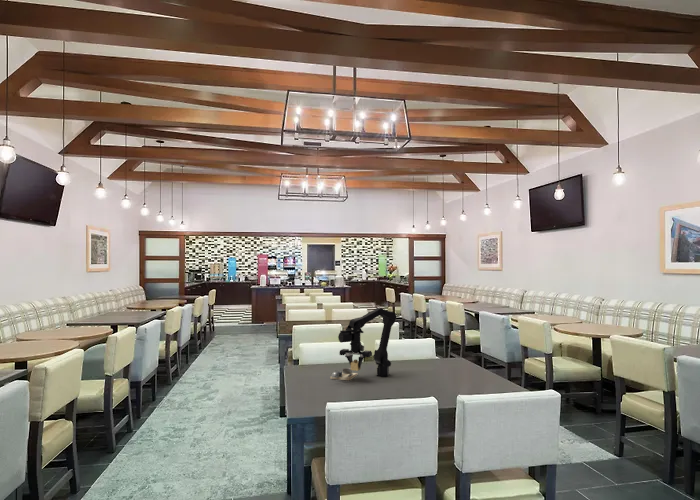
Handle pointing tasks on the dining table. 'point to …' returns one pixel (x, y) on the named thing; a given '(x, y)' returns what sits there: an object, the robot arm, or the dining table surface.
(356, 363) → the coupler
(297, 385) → the dining table surface
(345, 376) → the cream mounting plate
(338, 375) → the shaft
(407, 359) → the dining table surface
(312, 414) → the dining table surface
